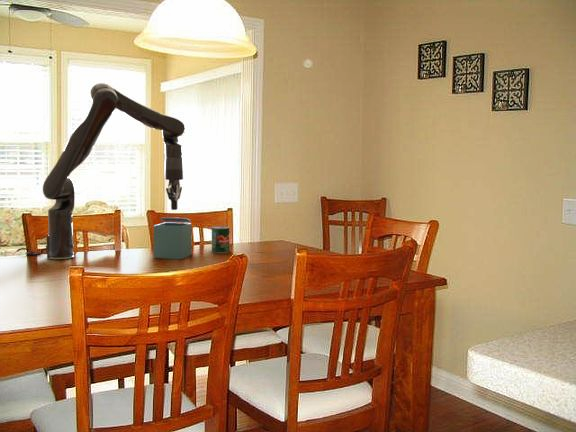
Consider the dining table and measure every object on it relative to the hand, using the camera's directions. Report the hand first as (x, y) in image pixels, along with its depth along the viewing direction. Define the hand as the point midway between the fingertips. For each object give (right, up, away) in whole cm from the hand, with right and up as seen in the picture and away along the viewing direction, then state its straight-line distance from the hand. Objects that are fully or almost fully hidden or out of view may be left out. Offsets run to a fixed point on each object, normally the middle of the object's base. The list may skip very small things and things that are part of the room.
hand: (174, 209), depth 253 cm
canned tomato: (+18, -19, +13) cm, 29 cm away
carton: (-1, -20, 0) cm, 20 cm away
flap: (0, -4, +2) cm, 5 cm away
